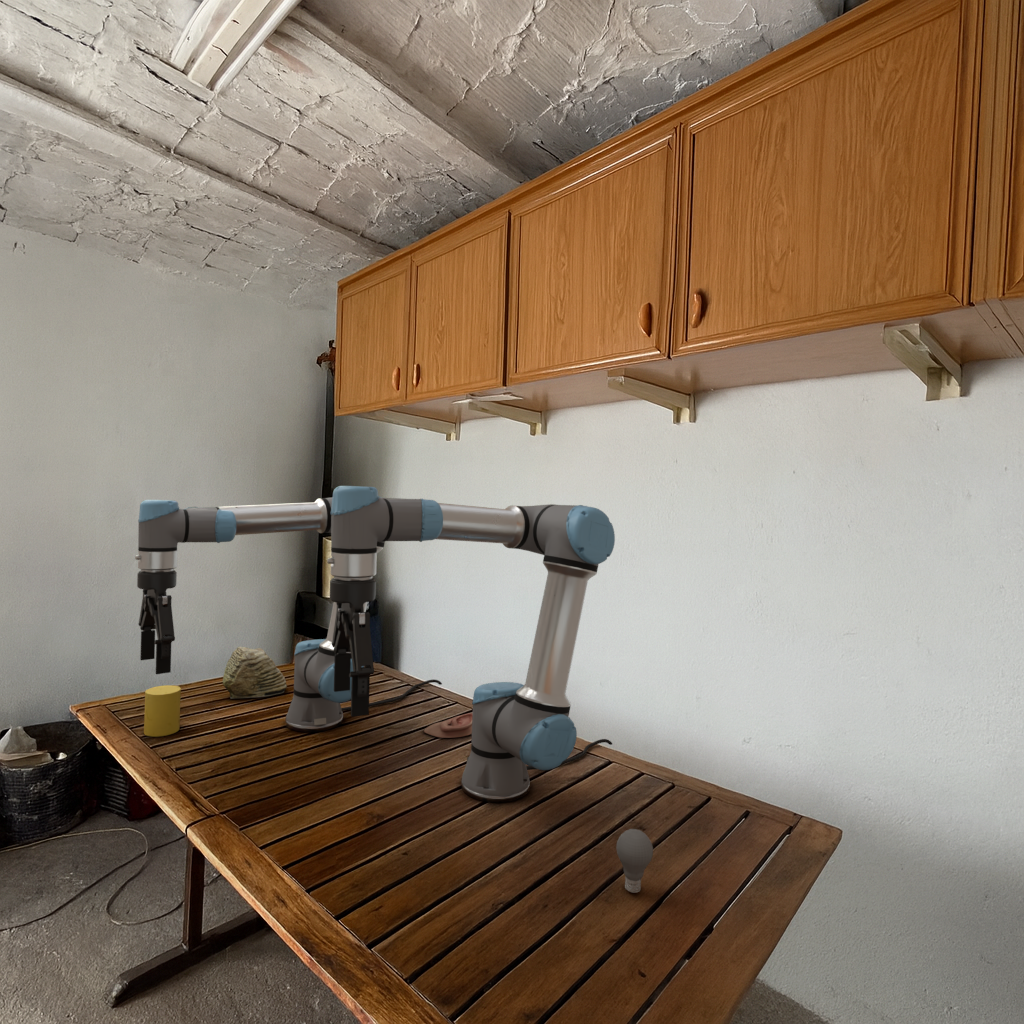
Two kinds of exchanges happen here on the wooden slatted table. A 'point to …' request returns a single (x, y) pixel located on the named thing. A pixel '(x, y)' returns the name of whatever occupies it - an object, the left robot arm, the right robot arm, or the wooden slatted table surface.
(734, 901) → the wooden slatted table surface
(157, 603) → the left robot arm
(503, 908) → the wooden slatted table surface
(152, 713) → the canister
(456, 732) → the anatomical model
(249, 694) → the fossil
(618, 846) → the light bulb
